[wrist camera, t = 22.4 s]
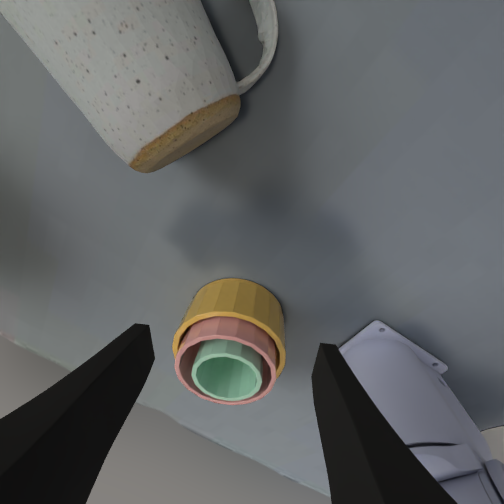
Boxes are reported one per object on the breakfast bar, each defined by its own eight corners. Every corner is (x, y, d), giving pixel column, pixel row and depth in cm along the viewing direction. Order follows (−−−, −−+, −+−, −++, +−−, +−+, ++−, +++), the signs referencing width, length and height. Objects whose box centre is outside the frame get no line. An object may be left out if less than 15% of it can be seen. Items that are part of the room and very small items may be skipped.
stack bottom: (303, 311, 22) (309, 351, 18) (249, 363, 26) (244, 405, 22) (220, 259, 20) (206, 290, 16) (175, 323, 24) (154, 361, 20)
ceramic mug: (168, 173, 17) (101, 196, 10) (84, 51, 14) (-85, -28, 8) (302, 81, 14) (332, 29, 7) (229, -92, 12) (171, -432, 5)
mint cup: (275, 321, 22) (276, 376, 17) (244, 352, 24) (236, 409, 19) (228, 292, 21) (214, 342, 16) (200, 327, 23) (179, 381, 18)
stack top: (291, 312, 22) (297, 368, 17) (246, 356, 25) (239, 416, 20) (223, 270, 21) (205, 317, 15) (184, 322, 24) (158, 377, 18)
